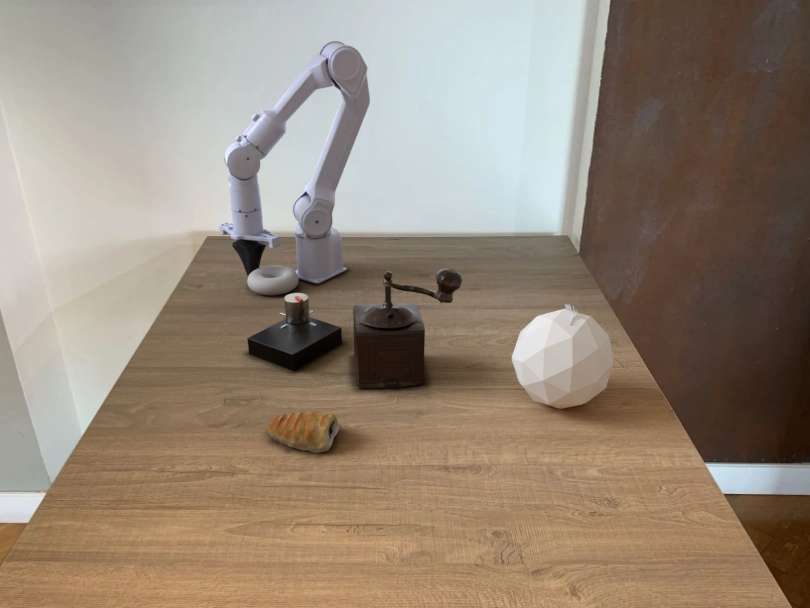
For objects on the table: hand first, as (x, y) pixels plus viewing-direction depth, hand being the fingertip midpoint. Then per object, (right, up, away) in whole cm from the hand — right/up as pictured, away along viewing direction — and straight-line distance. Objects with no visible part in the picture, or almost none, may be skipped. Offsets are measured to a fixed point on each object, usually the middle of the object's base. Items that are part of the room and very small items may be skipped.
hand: (252, 275), depth 148 cm
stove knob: (+11, -10, -22) cm, 27 cm away
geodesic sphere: (+51, -23, -40) cm, 69 cm away
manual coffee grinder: (+29, -19, -32) cm, 48 cm away
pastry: (+16, -28, -48) cm, 58 cm away
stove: (+11, -15, -24) cm, 30 cm away
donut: (+4, -3, -2) cm, 6 cm away
